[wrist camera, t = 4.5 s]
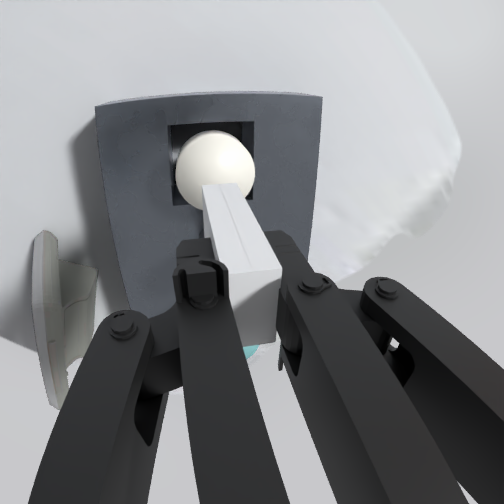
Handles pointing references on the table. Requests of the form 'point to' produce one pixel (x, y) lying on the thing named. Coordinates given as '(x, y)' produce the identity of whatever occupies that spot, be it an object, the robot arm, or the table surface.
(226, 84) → the table surface
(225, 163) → the knob inner
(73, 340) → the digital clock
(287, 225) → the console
